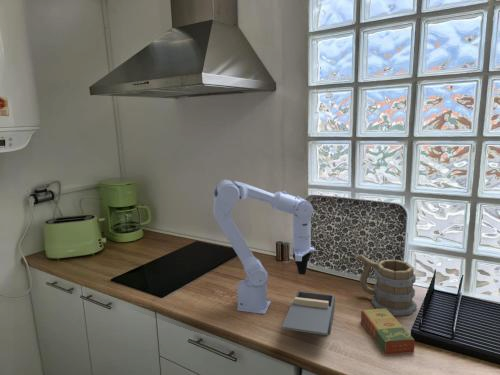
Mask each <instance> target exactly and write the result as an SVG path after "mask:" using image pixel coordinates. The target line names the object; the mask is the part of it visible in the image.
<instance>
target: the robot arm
mask: <svg viewBox="0 0 500 375" xmlns="http://www.w3.org/2000/svg"><path fill="white" fill-rule="evenodd" d="M247 198H251V199H253V200H258V201H262V202H265V203H269V204H270V205H271V207H272V208H273V209H274V210H277V211H281V212H284V213H287V214H289V215H291V214H292V215H293V217H292V219H293V220H292V221H293V222H292V226H293V227H292V228H293V229H292V230H293V231H292V233H293V235H292V237H293V238H292V240H293V244H292V245H293V247H292V251H293V254H292V258H293V260H294V261H295V262H294V263H295V264H296V268H297V272H298V275H306V273H307V269H308V262H309V259H310V257H311V255H312V252H314V251H315V247H313V246H312V244H311V242H312V238H311V236H312V234H311V233H312V229H311V228H312V225H311V224H312V223H311V222H312V221H311V220H312V215H314V207H313V204H311V202H309V200H306V199H304V198H303V197H300V195H299V196H298V195H296V196H294V195H291V194H288V192H287V191H285V190H282V191H279V190H278V191H276V192H274V193H272V192H269V191H267V190H265V189H261V188H259V187H256V186H254V185H250V184H249V183H245V182H240V181H237V180H233V181H232V180H231V179H224V178H223V179H221V180H220V181H219V182H218V183H217V185H215V188H214V191H213V206H212V208H213V209H212V215H213V217H214V219H215V220H216V222H217V224H218V225H219V227H220V229H221V231H222V232H223V234H224V235H225V237H226V239H227V240H228V242H229V244H230V245H231V247H232V249H233V250H234V252H235V254H236V255H237V257H238V259H239V260H240V262H241V264H242V266H243V271H244V273H245V275H246V276H245V279H240V280H239V282H238V285H237V293H236V294H237V309H236V310H237V311H239V312H240V311H241V312H246V313H247V312H248V313H255V314H259V315H260V314H261V315H265V314H266V312H267V310H268V309H269V307H270V305H271V303H272V301H271V300H268V287H267V286H268V285H267V284H268V279H269V273H268V271H267V270H266V269H265V267H264V265H263V264H262V262H261V260H260V259H258V258H256V256H254V254H253V252H252V250H251V249H250V247H249V245H248V244H247V241H246V240H245V238H244V236H243V235H242V233H241V232H240V230H239V228H238V226H237V225H236V223H235V221H234V219H232V216H231V212H232V210H233V207H234V206H235V205H236V203H237V202H238V201H239V200H241V201H243V200H246V199H247Z"/></svg>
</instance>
